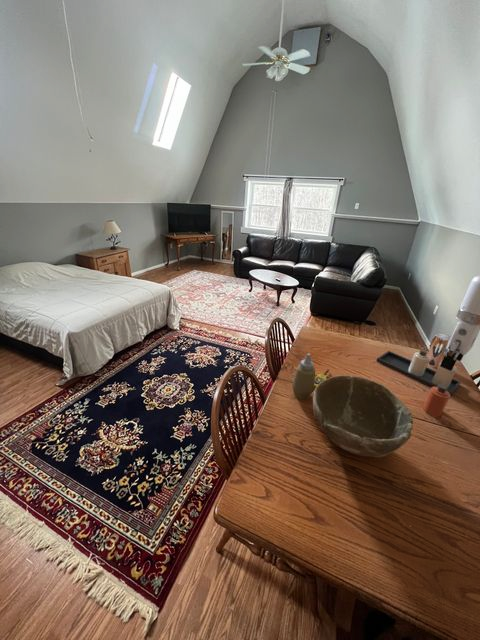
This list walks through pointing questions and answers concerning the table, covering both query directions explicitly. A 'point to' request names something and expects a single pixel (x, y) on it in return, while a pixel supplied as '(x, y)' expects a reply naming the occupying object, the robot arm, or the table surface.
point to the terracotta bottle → (436, 400)
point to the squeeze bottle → (304, 378)
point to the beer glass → (438, 349)
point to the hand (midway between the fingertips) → (450, 363)
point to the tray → (403, 366)
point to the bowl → (361, 415)
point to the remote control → (319, 379)
